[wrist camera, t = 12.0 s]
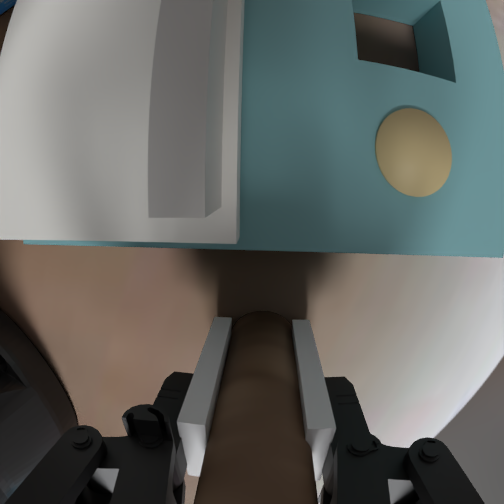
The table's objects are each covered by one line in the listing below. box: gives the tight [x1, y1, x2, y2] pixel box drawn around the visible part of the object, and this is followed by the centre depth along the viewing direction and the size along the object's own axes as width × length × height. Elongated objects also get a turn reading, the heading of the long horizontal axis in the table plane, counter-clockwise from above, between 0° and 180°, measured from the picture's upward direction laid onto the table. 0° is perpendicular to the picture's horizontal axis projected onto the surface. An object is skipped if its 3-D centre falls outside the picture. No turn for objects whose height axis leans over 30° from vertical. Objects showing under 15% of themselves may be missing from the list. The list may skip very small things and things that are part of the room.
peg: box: [194, 311, 318, 504], centre depth 9 cm, size 3×3×10 cm
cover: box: [0, 0, 245, 244], centre depth 7 cm, size 10×11×3 cm
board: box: [23, 0, 504, 258], centre depth 10 cm, size 20×12×3 cm, turn 89°
